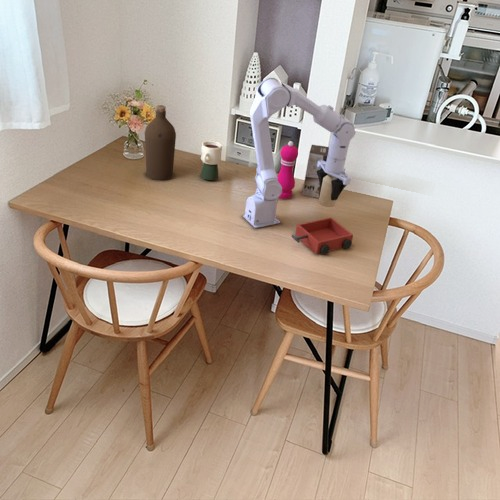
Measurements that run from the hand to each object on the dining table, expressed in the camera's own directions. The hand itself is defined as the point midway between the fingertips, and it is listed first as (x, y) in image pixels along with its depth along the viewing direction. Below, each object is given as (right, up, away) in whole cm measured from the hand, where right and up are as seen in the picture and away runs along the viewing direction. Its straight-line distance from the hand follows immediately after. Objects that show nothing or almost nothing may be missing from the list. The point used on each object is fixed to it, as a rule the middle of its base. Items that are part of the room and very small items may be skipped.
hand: (328, 195), depth 172 cm
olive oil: (-58, +9, +19) cm, 62 cm away
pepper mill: (-14, +2, +16) cm, 21 cm away
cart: (-3, -15, -8) cm, 17 cm away
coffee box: (-3, +3, +21) cm, 21 cm away
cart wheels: (-5, -15, -10) cm, 19 cm away
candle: (0, -3, +2) cm, 3 cm away
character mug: (-40, +8, +21) cm, 46 cm away
